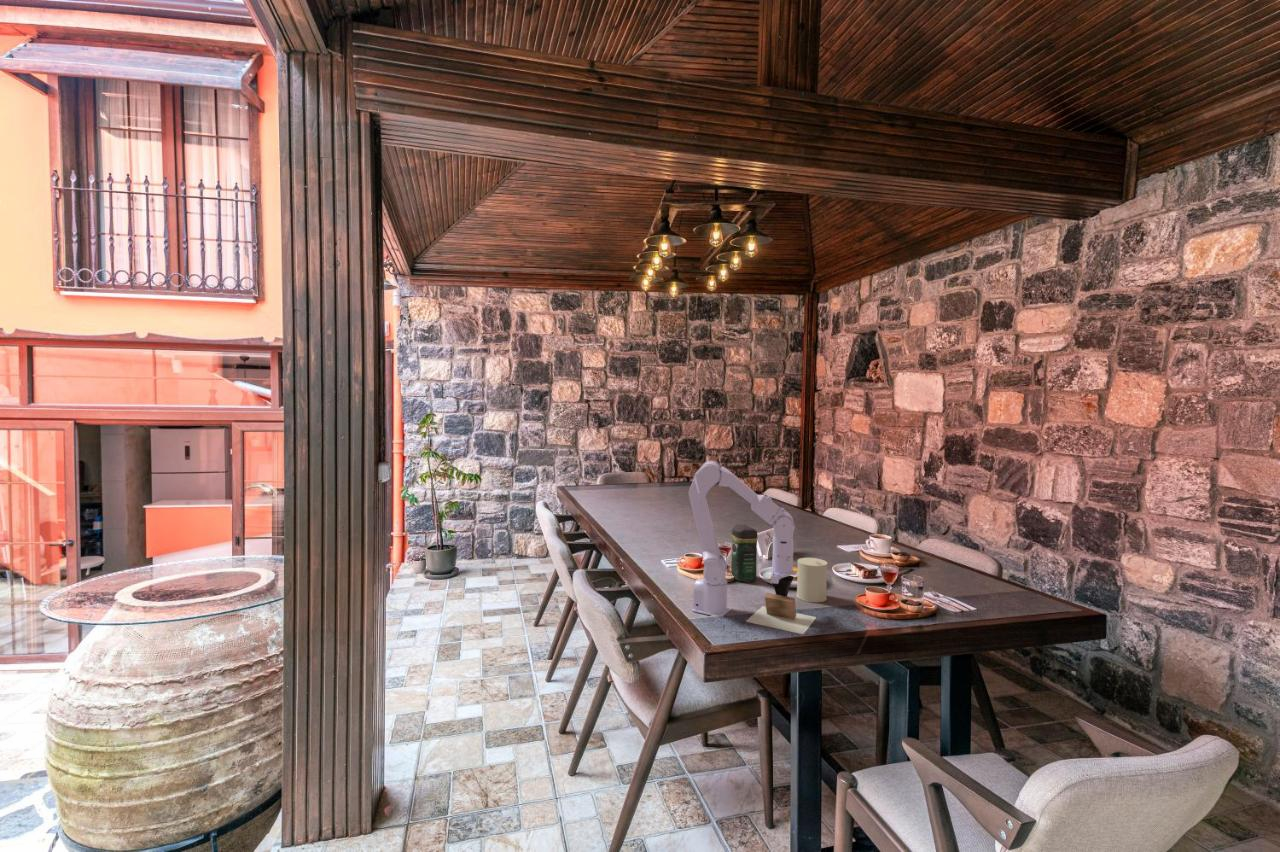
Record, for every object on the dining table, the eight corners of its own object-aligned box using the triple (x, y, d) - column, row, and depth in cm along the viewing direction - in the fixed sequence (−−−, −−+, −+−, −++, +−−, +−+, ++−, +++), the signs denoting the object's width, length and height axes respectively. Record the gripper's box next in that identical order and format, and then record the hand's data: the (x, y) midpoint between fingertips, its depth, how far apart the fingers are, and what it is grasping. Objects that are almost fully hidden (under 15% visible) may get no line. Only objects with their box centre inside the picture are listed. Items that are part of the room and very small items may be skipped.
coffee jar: (759, 582, 195) (761, 528, 194) (737, 583, 194) (738, 529, 193) (749, 573, 204) (750, 522, 204) (728, 574, 203) (729, 523, 202)
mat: (745, 623, 159) (745, 621, 159) (762, 607, 171) (762, 605, 171) (803, 636, 151) (803, 634, 151) (816, 619, 163) (816, 617, 163)
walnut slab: (766, 614, 165) (764, 597, 163) (769, 609, 166) (767, 592, 164) (794, 619, 161) (792, 602, 159) (796, 615, 162) (794, 597, 160)
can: (812, 604, 175) (813, 565, 174) (790, 595, 183) (791, 558, 182) (833, 599, 179) (834, 561, 179) (810, 590, 187) (811, 554, 187)
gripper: (789, 563, 155) (787, 612, 156) (803, 551, 167) (802, 596, 168) (764, 559, 159) (762, 607, 159) (780, 547, 171) (778, 592, 172)
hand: (781, 601), depth 164 cm, fingers closed
